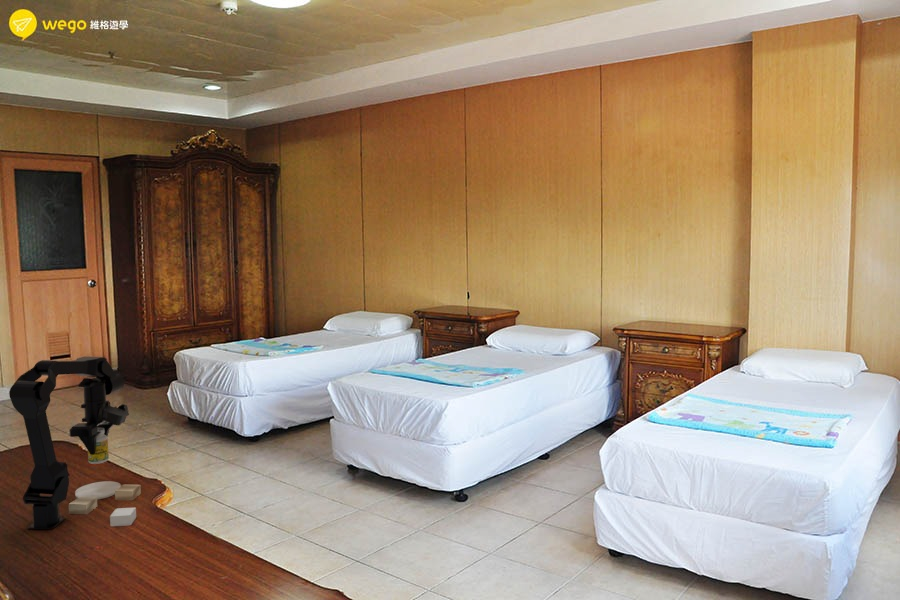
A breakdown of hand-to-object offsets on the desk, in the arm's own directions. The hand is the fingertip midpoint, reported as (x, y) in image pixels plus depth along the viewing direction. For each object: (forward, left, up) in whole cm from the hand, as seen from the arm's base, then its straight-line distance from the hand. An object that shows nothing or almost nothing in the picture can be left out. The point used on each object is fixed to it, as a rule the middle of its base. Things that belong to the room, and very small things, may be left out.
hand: (97, 451), depth 198 cm
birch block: (-13, -1, -13) cm, 18 cm away
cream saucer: (0, +1, -13) cm, 13 cm away
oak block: (-3, -10, -13) cm, 17 cm away
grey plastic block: (-20, -16, -13) cm, 29 cm away
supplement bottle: (0, 0, -3) cm, 3 cm away
